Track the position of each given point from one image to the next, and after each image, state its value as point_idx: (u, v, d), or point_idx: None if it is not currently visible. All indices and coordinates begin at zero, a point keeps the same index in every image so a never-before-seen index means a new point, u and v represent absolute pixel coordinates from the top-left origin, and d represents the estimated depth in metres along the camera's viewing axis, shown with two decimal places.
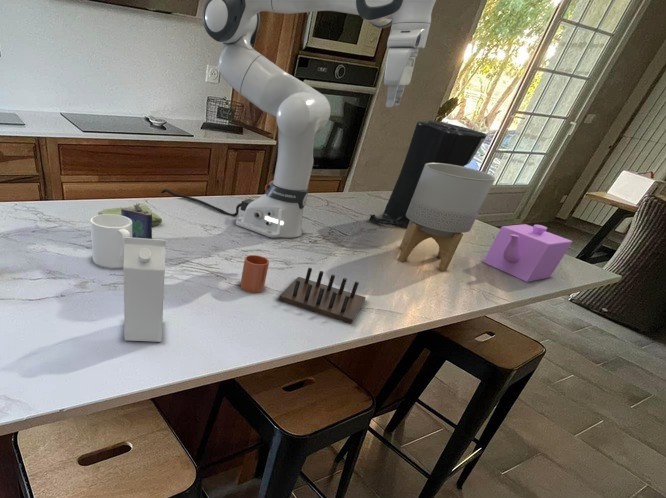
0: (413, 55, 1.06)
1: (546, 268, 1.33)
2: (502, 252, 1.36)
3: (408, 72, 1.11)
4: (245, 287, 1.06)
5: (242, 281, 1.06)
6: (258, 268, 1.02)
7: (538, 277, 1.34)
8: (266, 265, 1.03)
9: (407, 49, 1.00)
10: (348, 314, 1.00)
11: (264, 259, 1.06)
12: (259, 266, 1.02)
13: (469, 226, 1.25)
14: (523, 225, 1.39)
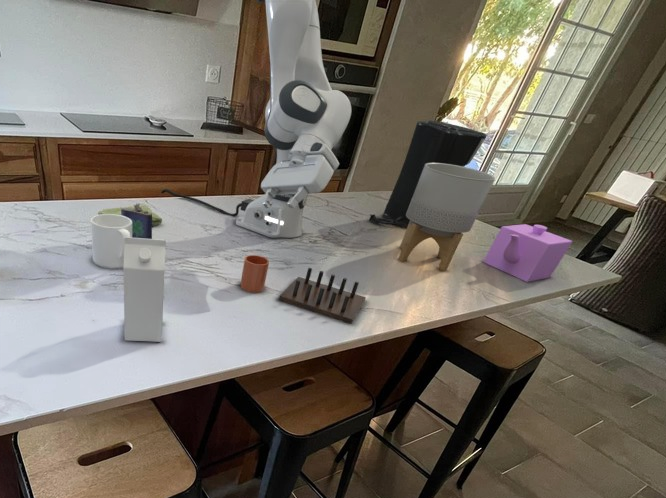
0: None
1: (546, 268, 1.33)
2: (502, 252, 1.36)
3: None
4: (245, 287, 1.06)
5: (242, 281, 1.06)
6: (258, 268, 1.02)
7: (538, 277, 1.34)
8: (266, 265, 1.03)
9: (332, 169, 1.00)
10: (348, 314, 1.00)
11: (264, 259, 1.06)
12: (259, 266, 1.02)
13: (469, 226, 1.25)
14: (523, 225, 1.39)
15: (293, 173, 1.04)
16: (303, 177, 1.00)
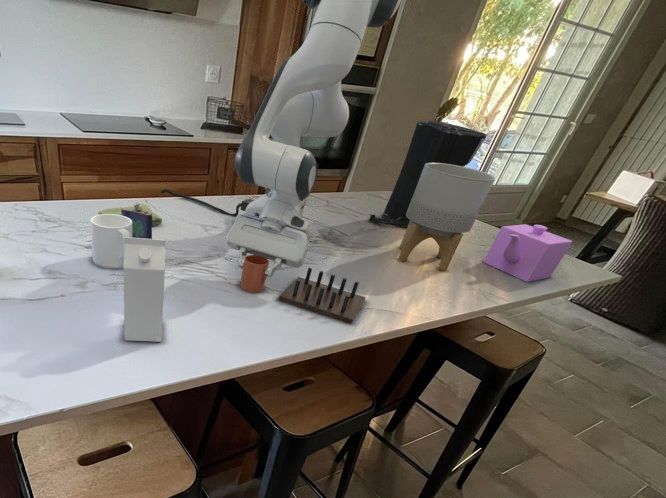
0: None
1: (546, 268, 1.33)
2: (502, 252, 1.36)
3: None
4: (245, 287, 1.06)
5: (242, 281, 1.06)
6: (258, 268, 1.02)
7: (538, 277, 1.34)
8: (266, 265, 1.03)
9: None
10: (348, 314, 1.00)
11: (264, 259, 1.06)
12: (259, 266, 1.02)
13: (469, 226, 1.25)
14: (523, 225, 1.39)
15: (269, 240, 1.04)
16: (285, 250, 1.02)
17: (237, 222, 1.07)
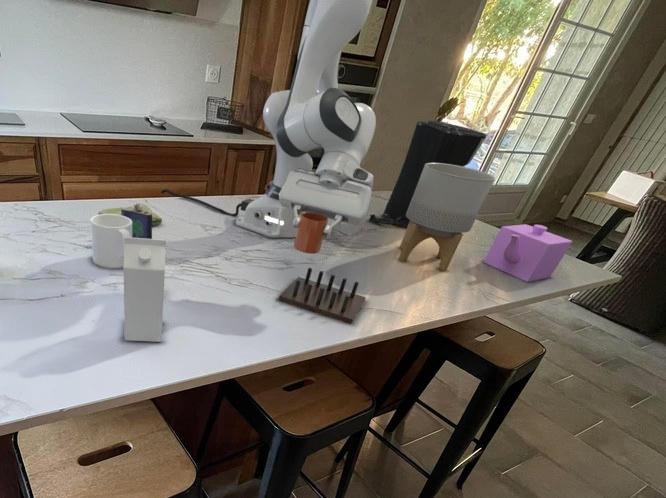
0: None
1: (547, 268, 1.33)
2: (502, 252, 1.36)
3: None
4: (300, 247, 0.97)
5: (297, 241, 0.98)
6: (317, 225, 0.94)
7: (538, 277, 1.34)
8: (325, 222, 0.94)
9: None
10: (348, 314, 1.00)
11: (321, 217, 0.97)
12: (318, 223, 0.93)
13: (469, 226, 1.25)
14: (523, 225, 1.39)
15: (329, 195, 0.95)
16: (346, 206, 0.94)
17: (291, 177, 0.99)
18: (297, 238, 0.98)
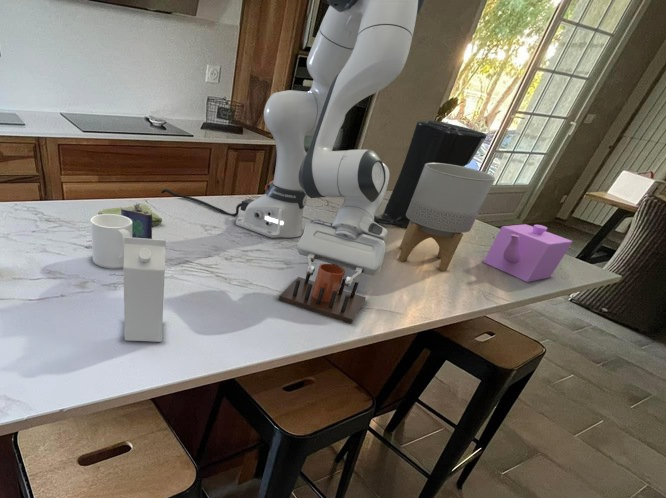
0: None
1: (547, 268, 1.33)
2: (502, 252, 1.36)
3: None
4: None
5: (315, 290, 1.04)
6: (335, 277, 1.00)
7: (538, 277, 1.34)
8: (342, 274, 1.00)
9: None
10: (348, 314, 1.00)
11: (338, 268, 1.03)
12: (336, 275, 0.99)
13: (469, 226, 1.25)
14: (523, 225, 1.39)
15: (345, 247, 1.01)
16: (362, 258, 1.00)
17: (309, 228, 1.04)
18: (315, 288, 1.04)
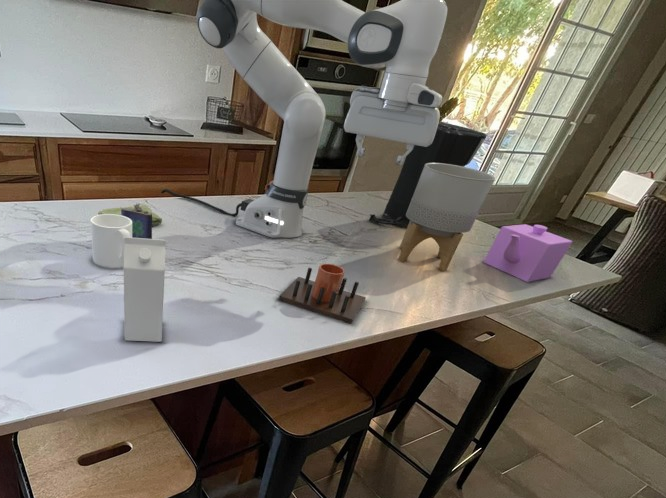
0: None
1: (547, 268, 1.33)
2: (502, 252, 1.36)
3: None
4: None
5: (315, 290, 1.04)
6: (335, 277, 1.00)
7: (538, 277, 1.34)
8: (342, 274, 1.00)
9: (438, 110, 0.95)
10: (348, 314, 1.00)
11: (338, 268, 1.03)
12: (336, 275, 0.99)
13: (469, 226, 1.25)
14: (523, 225, 1.39)
15: (394, 123, 0.97)
16: (412, 135, 0.96)
17: (354, 105, 0.98)
18: (315, 288, 1.04)
